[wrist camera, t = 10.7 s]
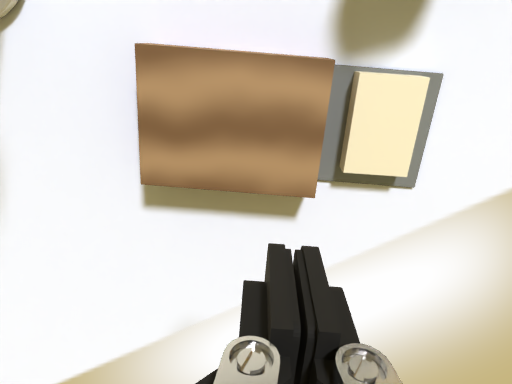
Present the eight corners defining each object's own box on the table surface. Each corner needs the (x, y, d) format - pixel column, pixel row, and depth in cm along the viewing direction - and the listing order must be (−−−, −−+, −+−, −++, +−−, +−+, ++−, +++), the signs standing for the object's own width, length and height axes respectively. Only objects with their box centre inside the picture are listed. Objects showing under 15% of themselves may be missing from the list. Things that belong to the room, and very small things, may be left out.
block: (430, 77, 31) (421, 75, 33) (359, 72, 31) (354, 70, 33) (406, 177, 35) (399, 170, 37) (343, 172, 35) (339, 165, 37)
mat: (332, 64, 33) (332, 64, 33) (442, 73, 33) (443, 73, 33) (315, 178, 38) (315, 179, 37) (413, 186, 38) (414, 187, 37)
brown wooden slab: (149, 43, 33) (134, 43, 29) (327, 58, 33) (335, 60, 29) (153, 170, 38) (141, 184, 34) (309, 182, 38) (314, 198, 34)
